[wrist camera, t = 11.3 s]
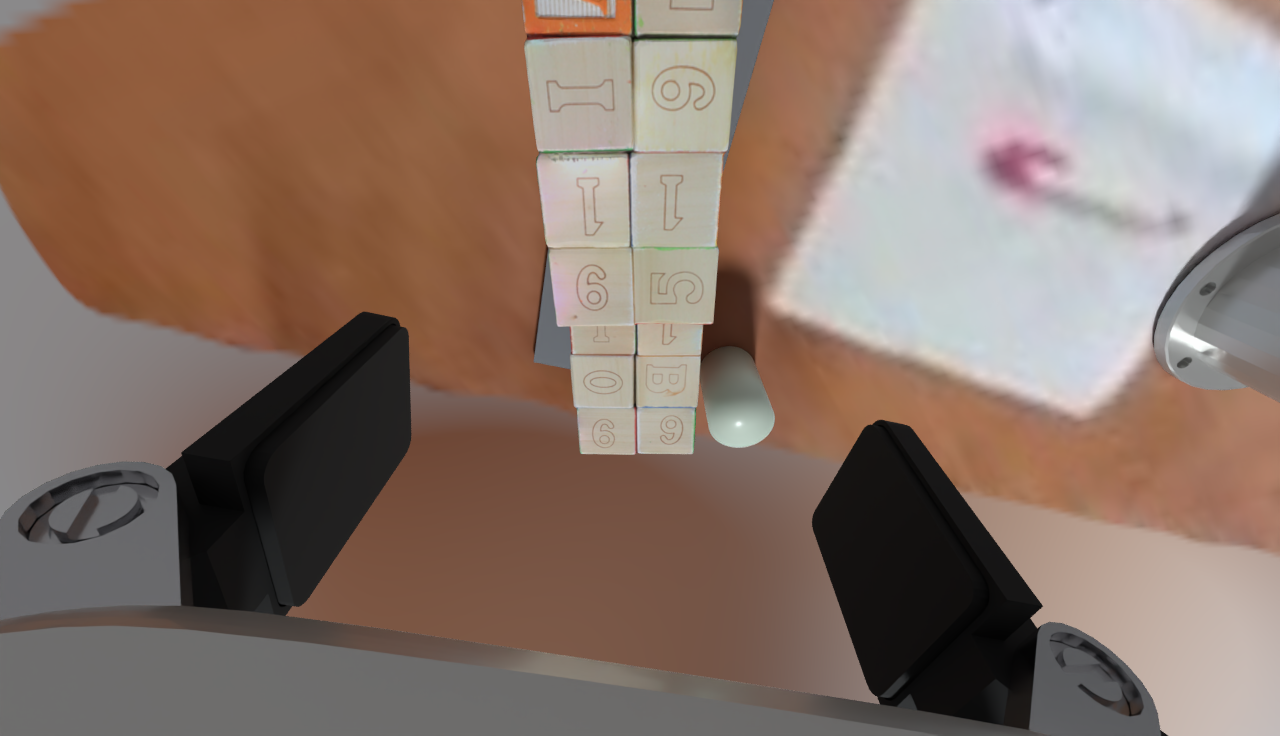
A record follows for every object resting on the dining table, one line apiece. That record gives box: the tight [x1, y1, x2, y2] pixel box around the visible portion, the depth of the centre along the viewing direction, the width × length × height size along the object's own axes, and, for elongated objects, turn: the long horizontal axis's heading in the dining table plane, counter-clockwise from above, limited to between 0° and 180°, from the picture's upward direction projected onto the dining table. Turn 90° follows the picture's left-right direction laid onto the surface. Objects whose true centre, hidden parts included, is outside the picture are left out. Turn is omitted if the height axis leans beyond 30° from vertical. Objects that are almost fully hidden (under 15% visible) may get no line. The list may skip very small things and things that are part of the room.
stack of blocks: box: [522, 0, 743, 454], centre depth 23 cm, size 21×6×12 cm, turn 0°
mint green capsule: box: [700, 346, 775, 447], centre depth 32 cm, size 4×4×6 cm
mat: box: [534, 0, 774, 369], centre depth 28 cm, size 9×24×1 cm, turn 167°
